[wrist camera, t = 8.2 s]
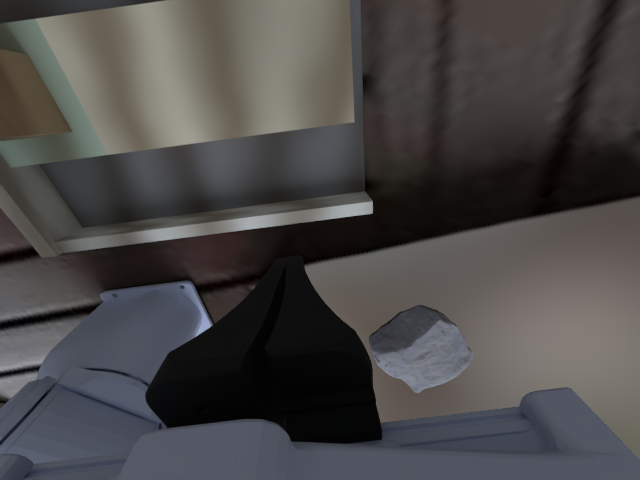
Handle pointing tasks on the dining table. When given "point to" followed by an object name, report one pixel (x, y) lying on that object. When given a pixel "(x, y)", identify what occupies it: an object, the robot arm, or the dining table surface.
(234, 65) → the box
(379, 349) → the stone block
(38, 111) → the walnut cube
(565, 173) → the dining table surface
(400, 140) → the dining table surface
